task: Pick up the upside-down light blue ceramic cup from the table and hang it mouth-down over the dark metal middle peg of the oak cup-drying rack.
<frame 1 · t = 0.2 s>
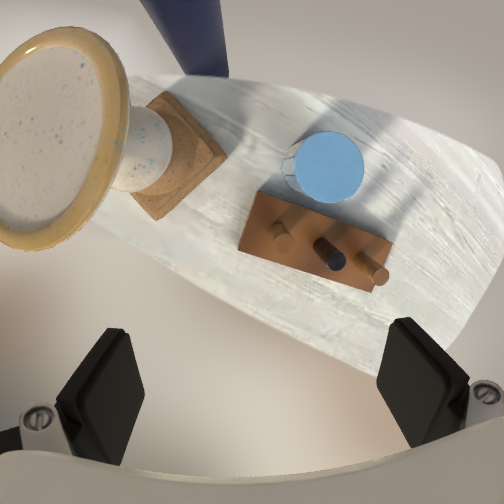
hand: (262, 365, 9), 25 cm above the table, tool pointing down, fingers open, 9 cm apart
candle holder: (163, 155, 31), on the table
rack: (317, 243, 35), on the table
cup: (310, 167, 32), on the table
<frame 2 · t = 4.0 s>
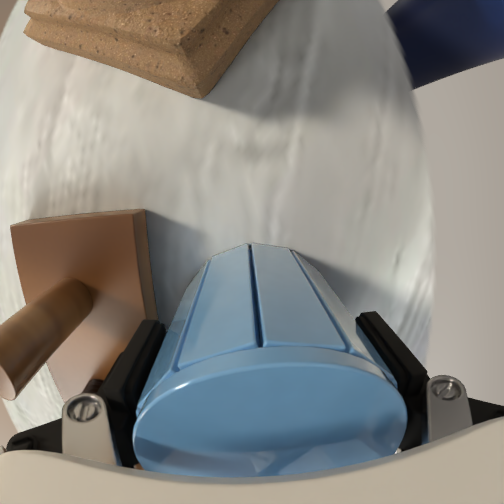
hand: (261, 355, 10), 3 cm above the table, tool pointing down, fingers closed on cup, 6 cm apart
rack: (112, 376, 14), on the table
cup: (257, 315, 13), on the table, touching gripper
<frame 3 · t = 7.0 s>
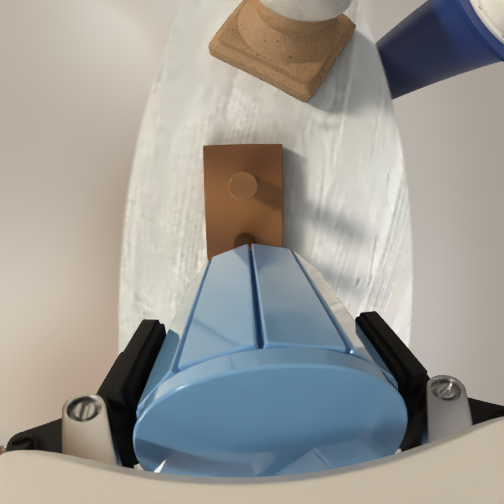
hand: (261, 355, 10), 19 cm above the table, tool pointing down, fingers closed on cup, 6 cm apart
candle holder: (283, 38, 23), on the table
rack: (244, 239, 28), on the table
cup: (257, 316, 13), point 16 cm above the table, touching gripper
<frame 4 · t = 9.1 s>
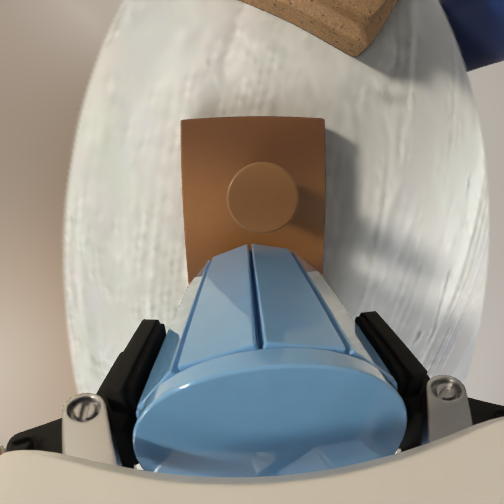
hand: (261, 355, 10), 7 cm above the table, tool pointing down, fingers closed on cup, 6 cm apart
rack: (254, 284, 17), on the table
cup: (257, 316, 13), point 4 cm above the table, touching gripper
when the fingers open (5 cm above the table, at t = 10.4 s): cup stays where it is, resting on rack.
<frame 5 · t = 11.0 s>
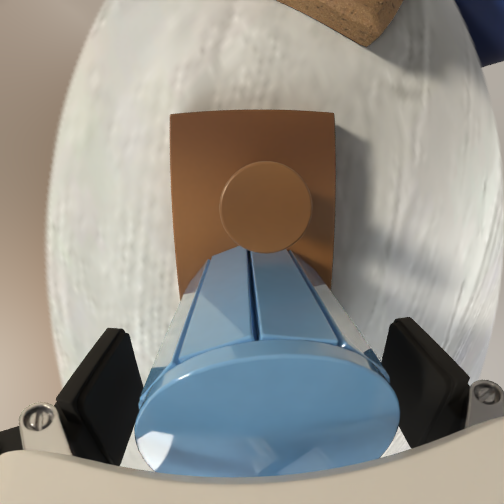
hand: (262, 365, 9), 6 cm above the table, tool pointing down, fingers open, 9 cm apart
rack: (254, 299, 15), on the table
cup: (255, 313, 13), point 1 cm above the table, touching rack
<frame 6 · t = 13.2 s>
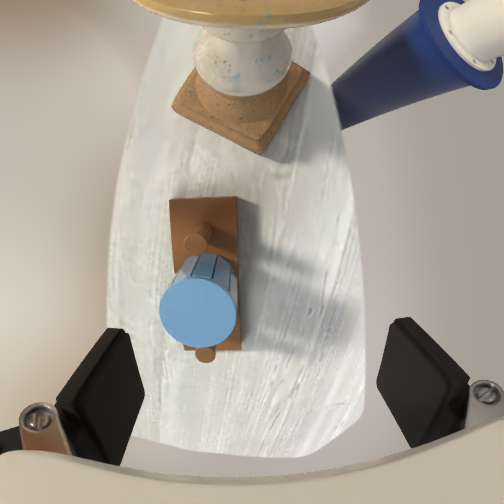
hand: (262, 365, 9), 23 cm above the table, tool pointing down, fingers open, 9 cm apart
candle holder: (241, 91, 28), on the table
rack: (207, 277, 33), on the table
cup: (206, 282, 31), point 1 cm above the table, touching rack
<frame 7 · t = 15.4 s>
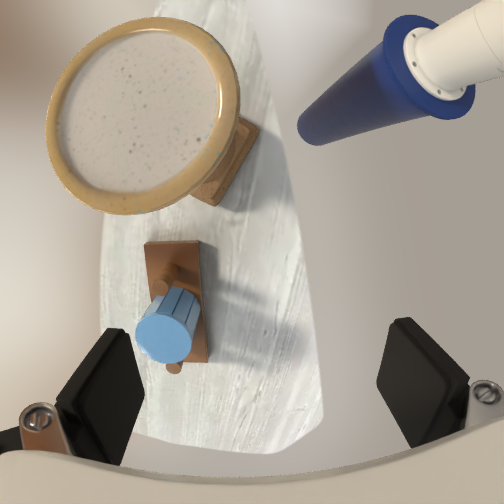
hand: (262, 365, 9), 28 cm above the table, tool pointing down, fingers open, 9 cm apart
candle holder: (200, 148, 34), on the table
rack: (178, 304, 39), on the table
cup: (176, 309, 38), point 1 cm above the table, touching rack
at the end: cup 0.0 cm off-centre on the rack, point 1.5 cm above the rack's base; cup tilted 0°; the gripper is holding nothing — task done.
